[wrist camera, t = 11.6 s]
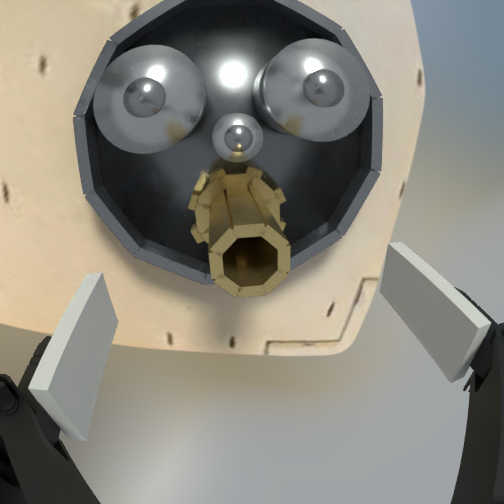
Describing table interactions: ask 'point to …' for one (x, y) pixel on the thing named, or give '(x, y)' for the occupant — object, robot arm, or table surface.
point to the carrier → (227, 124)
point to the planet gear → (242, 231)
